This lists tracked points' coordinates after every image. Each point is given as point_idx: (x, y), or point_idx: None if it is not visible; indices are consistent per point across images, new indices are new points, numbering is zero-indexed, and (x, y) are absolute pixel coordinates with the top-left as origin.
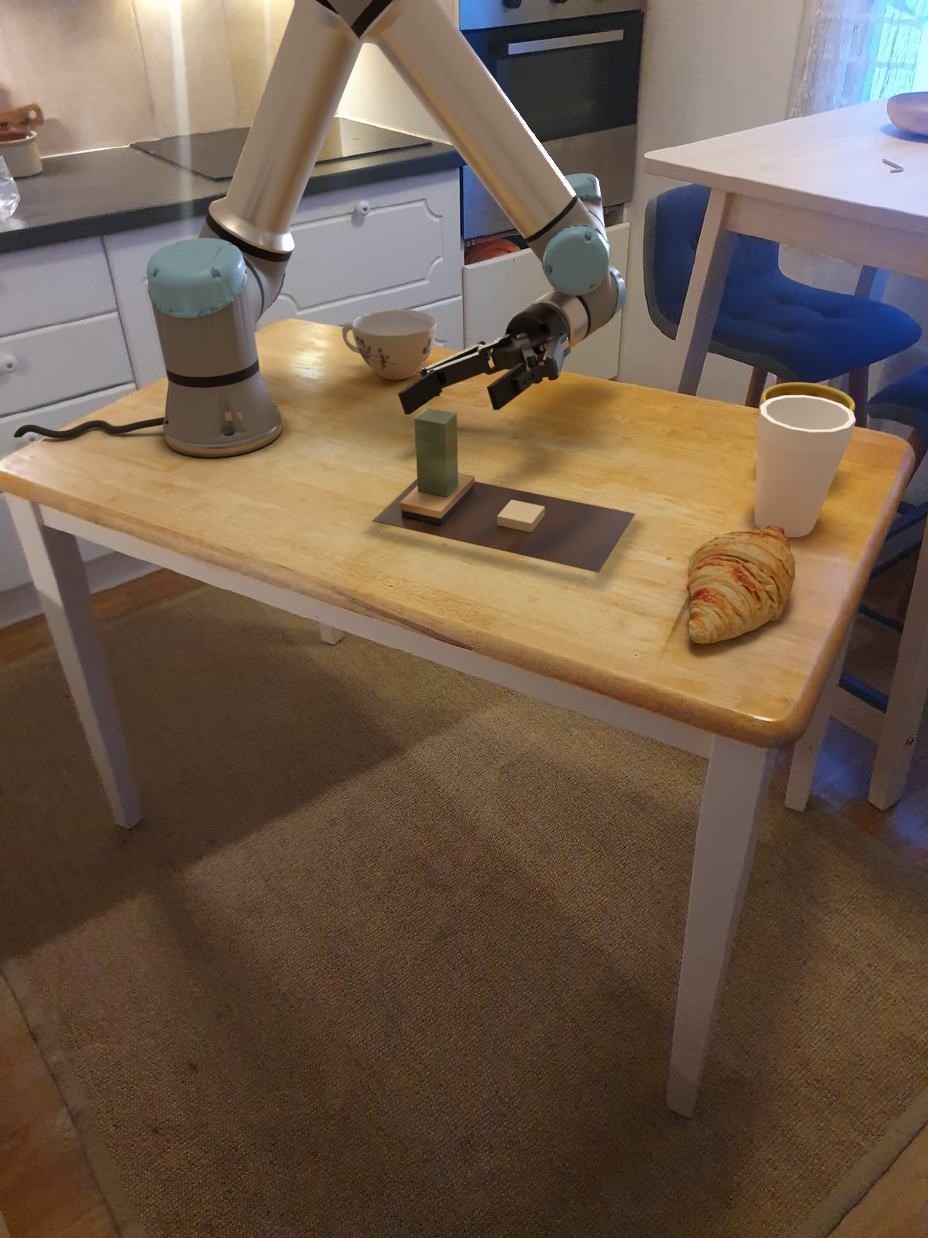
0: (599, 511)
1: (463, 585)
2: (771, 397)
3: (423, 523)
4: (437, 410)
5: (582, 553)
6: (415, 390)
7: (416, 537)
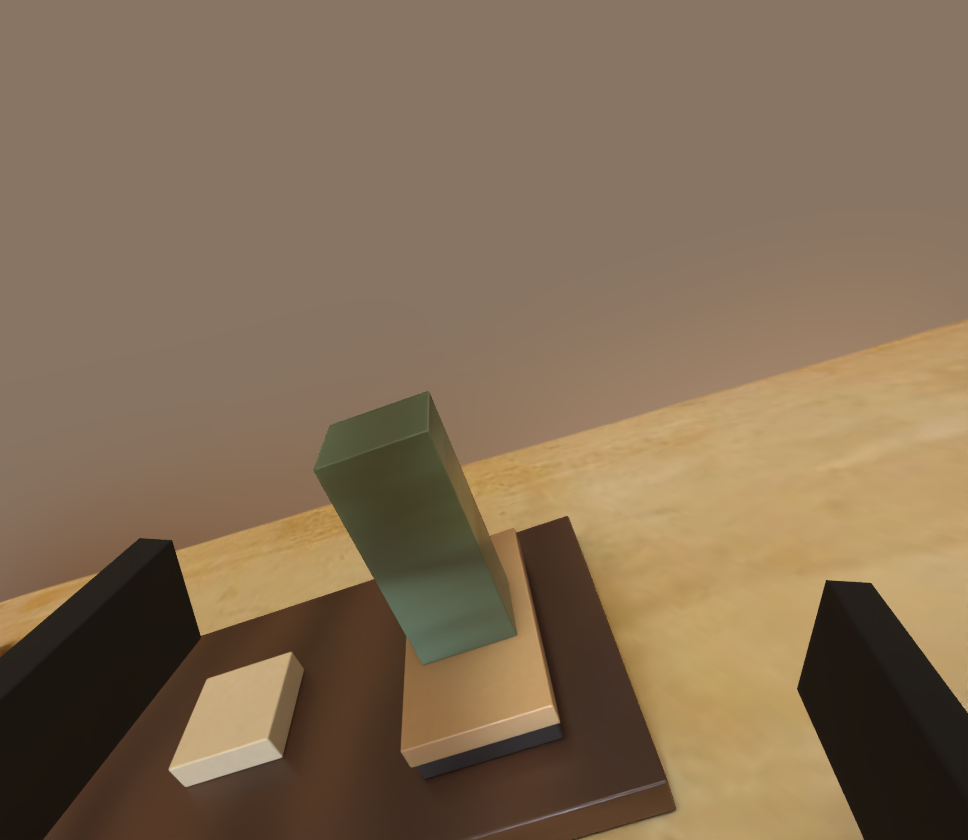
0: None
1: (341, 552)
2: None
3: None
4: (384, 442)
5: None
6: (875, 709)
7: None
